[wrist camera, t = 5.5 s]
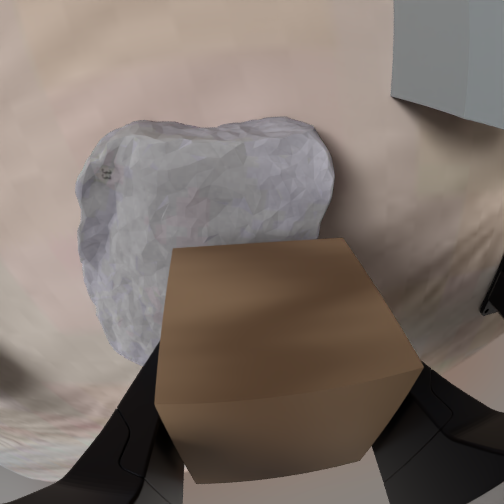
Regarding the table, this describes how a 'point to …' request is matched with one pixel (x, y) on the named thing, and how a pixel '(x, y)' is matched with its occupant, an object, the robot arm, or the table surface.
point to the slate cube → (451, 57)
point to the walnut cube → (276, 359)
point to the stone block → (188, 208)
